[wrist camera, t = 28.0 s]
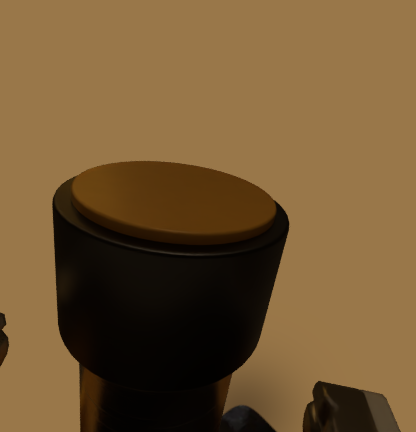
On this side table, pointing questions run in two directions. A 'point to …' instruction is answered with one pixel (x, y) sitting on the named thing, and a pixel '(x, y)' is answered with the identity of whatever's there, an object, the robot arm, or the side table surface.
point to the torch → (162, 289)
